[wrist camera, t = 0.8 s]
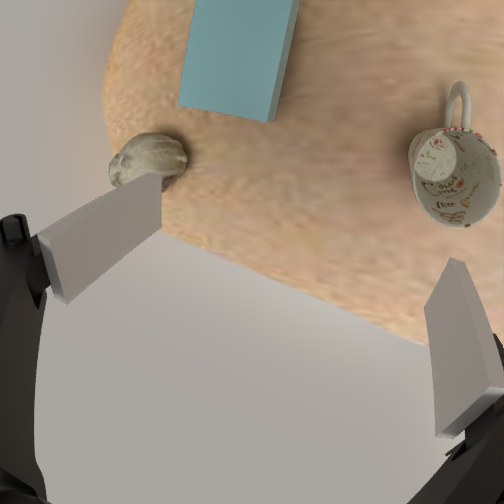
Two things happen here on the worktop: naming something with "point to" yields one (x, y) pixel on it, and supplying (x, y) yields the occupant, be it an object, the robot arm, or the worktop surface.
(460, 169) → the mug
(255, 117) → the lid
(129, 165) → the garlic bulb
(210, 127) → the worktop surface
